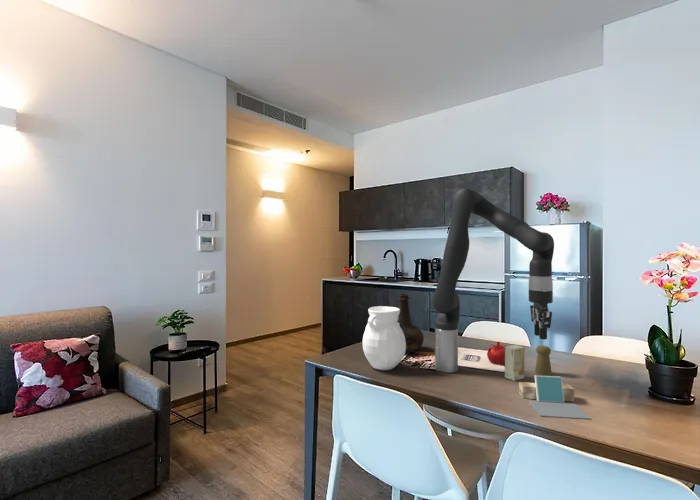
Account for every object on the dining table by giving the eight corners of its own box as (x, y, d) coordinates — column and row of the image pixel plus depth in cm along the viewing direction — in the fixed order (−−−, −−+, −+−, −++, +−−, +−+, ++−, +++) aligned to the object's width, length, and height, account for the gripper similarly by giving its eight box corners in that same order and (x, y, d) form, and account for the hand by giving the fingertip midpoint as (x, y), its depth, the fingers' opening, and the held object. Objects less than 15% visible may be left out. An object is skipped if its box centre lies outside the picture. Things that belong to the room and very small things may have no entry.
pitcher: (385, 377, 140) (384, 314, 140) (353, 366, 154) (353, 308, 154) (415, 366, 153) (414, 308, 152) (383, 357, 166) (383, 303, 166)
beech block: (522, 398, 120) (522, 386, 120) (519, 393, 124) (519, 382, 124) (574, 401, 118) (574, 389, 118) (568, 396, 122) (568, 384, 122)
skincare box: (513, 381, 136) (513, 349, 135) (504, 377, 139) (504, 346, 139) (525, 378, 138) (525, 347, 138) (515, 374, 142) (515, 344, 142)
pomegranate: (515, 363, 157) (516, 342, 156) (502, 367, 151) (502, 346, 151) (495, 357, 165) (495, 337, 165) (482, 361, 159) (482, 340, 159)
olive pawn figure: (554, 376, 140) (554, 348, 140) (537, 375, 142) (537, 347, 141) (548, 371, 146) (548, 344, 146) (532, 370, 148) (532, 343, 147)
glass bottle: (430, 350, 177) (430, 293, 177) (410, 358, 164) (409, 297, 164) (400, 343, 189) (400, 291, 189) (379, 350, 176) (379, 294, 176)
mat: (540, 416, 108) (540, 415, 108) (528, 402, 117) (528, 401, 117) (591, 419, 106) (591, 418, 106) (574, 404, 115) (574, 403, 115)
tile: (538, 402, 117) (538, 377, 117) (534, 398, 121) (534, 374, 121) (564, 403, 116) (564, 379, 116) (560, 399, 119) (559, 375, 120)
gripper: (522, 286, 133) (522, 332, 133) (536, 291, 119) (536, 342, 119) (543, 286, 132) (544, 332, 132) (560, 291, 118) (560, 343, 118)
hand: (540, 337), depth 126 cm, fingers open, 4 cm apart
